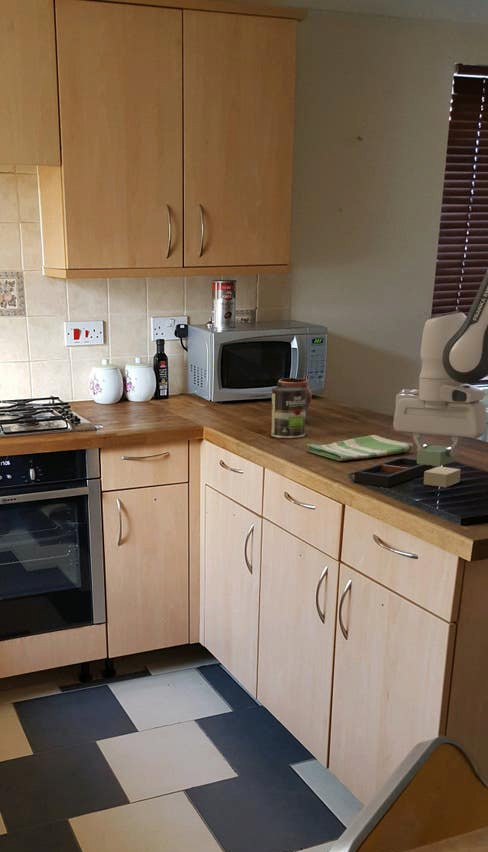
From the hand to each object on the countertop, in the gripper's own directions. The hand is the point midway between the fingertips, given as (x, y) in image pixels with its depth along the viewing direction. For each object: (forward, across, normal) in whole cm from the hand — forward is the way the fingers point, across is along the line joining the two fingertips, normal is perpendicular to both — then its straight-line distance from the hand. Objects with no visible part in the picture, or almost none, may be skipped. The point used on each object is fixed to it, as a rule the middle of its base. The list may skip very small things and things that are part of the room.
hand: (436, 454), depth 192 cm
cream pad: (+8, -3, +9) cm, 12 cm away
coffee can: (+7, -68, +39) cm, 78 cm away
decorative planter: (+7, -80, +59) cm, 100 cm away
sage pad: (+2, 0, 0) cm, 2 cm away
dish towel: (+8, -36, +28) cm, 47 cm away
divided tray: (+8, -15, +8) cm, 19 cm away
